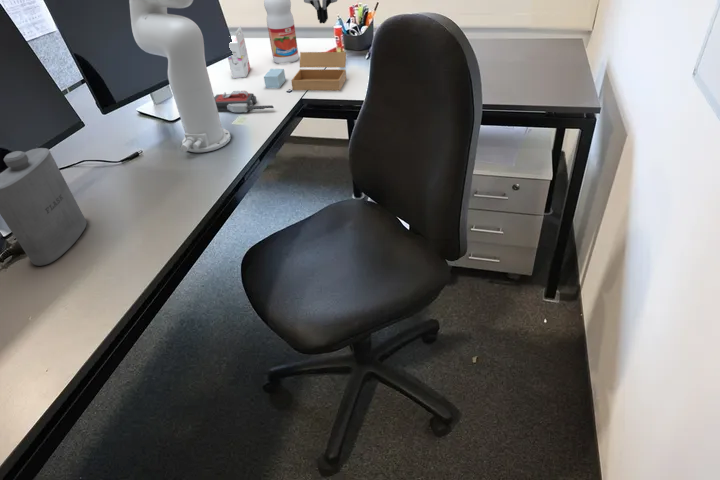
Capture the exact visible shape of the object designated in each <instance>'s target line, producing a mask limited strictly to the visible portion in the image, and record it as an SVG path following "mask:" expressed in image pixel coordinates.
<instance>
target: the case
mask: <svg viewBox="0 0 720 480" xmlns="http://www.w3.org/2000/svg"><path fill="white" fill-rule="evenodd" d="M263 80H264V85H265V86H264V87H265V88H266V89H279V88H281V86H282V85H283V84H284V83H285V82H286V80H287V79H286V73H285V69H284V68H270V69H269V70H268V71H267V72H266V73H265V75H263Z"/></svg>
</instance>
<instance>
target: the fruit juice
mask: <svg viewBox="0 0 720 480" xmlns="http://www.w3.org/2000/svg"><path fill="white" fill-rule="evenodd" d="M263 7H264V9H265V12H266V27H267V31H268V37H269V44H270V49H271V50H270V51H271V55H272V59H273V61H274V63H276V64H288V63H290V64H291V63H295V62H296V61H297V60H299V58H300V54H299V49H298V42H297V33H296V27H295V20H294V16H293V14H292V11H291V10H292V9H291V8H292V2H291V0H263Z"/></svg>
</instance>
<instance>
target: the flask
mask: <svg viewBox="0 0 720 480" xmlns="http://www.w3.org/2000/svg"><path fill="white" fill-rule="evenodd" d="M3 162H4V163H5V165H6V167H7V168H6V169H5V170H3V171H2V172H0V217H1V218H2V220H3V221H4V222H5V224H6V225H7V227H8V228H9V230H10V232H11V233H12V235H13V236H14V238H15V239H16V241H17V242H18V244H19V245H20V247H21V249H22V250H23V252H24V253H25V254H26V256H27V258H28V259H29V261H30V262H31V264H32V265H34V266H40V267H41V266H47V265H50V264H52V263H53V262H55V261H56V260H58V259H60V258H61V257H62V256H63V255H64V254H65V253H66V252H67V251H68V250H70V248H72V246H73V245H75V243H76V242H77V241H78V239H79V238H80V237H81V236H82V234H83V232H84V231H85V229H86V228H87V225H88V224H87V222H88V221H87V219H86V218H85V216H84V214H83V212H82V210H81V208H80V206H79V204H78V202H77V200H76V198H75V197H74V195H73V192H72V191H71V189H70V188H69V185H68V183H67V182H66V179H65V178H64V176H63V173H62V172H61V170H60V168H59V166H58V164H57V162H56V160H55V159H54V156H53V154H52V153H51V151H50V149H49V148H46V147H36V148H31V149H29V150H27V151H21V150H16V151H12V152H9V153H7V154H6V155H5V156H4V158H3Z"/></svg>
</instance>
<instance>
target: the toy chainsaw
mask: <svg viewBox="0 0 720 480" xmlns="http://www.w3.org/2000/svg"><path fill="white" fill-rule="evenodd" d="M214 98H215V102H216V106H217V109H218V112H225V111H229V112H232V113H248V111H252V110H253V111H254V110H265V109H274V105H270V104H269V105H254V104H256V103H257V96H256V95H255V94H254V92H253V93H251V92H250V93H249V92H248V91H247V90H233V91H232V92H231V93H227V92H226V91H225V92H224V93H220V94H218V93H217V94H216V95H214Z"/></svg>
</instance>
